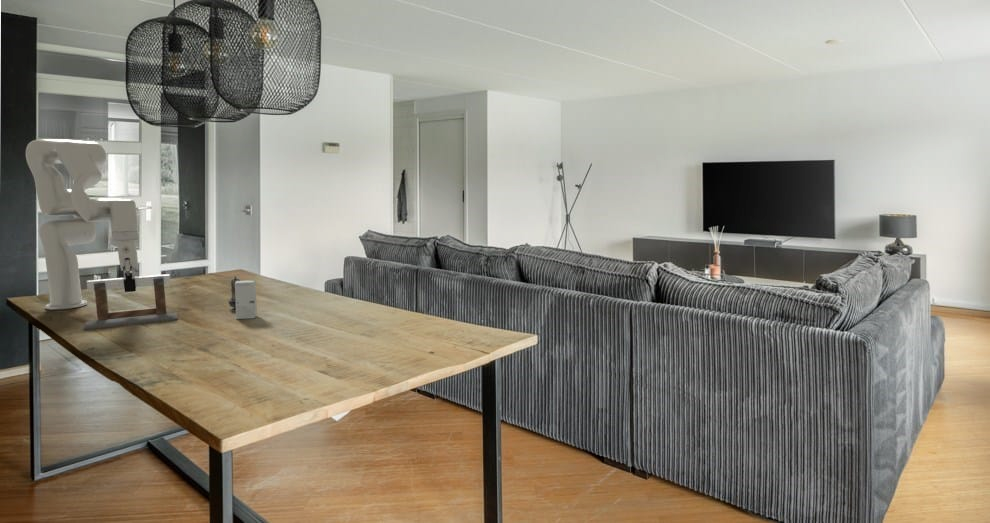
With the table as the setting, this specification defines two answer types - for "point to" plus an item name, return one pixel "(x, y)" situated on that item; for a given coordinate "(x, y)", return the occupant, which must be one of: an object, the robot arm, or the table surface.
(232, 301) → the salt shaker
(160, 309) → the rack
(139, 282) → the rail
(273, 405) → the table surface
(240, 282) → the skincare box
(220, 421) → the table surface
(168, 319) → the mat
